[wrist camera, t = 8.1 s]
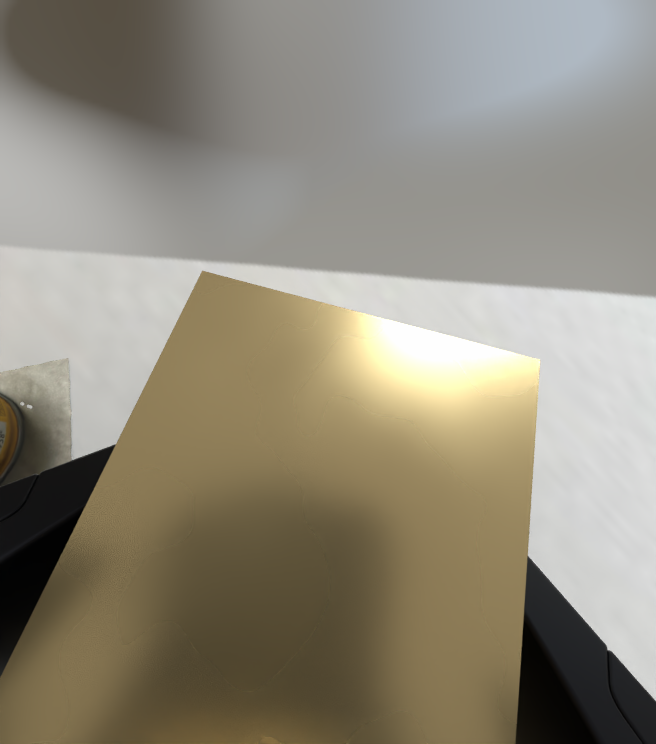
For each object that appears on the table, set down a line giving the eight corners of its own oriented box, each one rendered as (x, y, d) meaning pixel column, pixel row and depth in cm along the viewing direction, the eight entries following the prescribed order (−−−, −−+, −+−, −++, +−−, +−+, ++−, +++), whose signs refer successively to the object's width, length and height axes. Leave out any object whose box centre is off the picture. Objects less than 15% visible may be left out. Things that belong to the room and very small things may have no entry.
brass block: (349, 596, 14) (497, 1038, 3) (235, 560, 14) (-70, 818, 3) (381, 454, 16) (540, 360, 5) (280, 425, 16) (202, 271, 5)
